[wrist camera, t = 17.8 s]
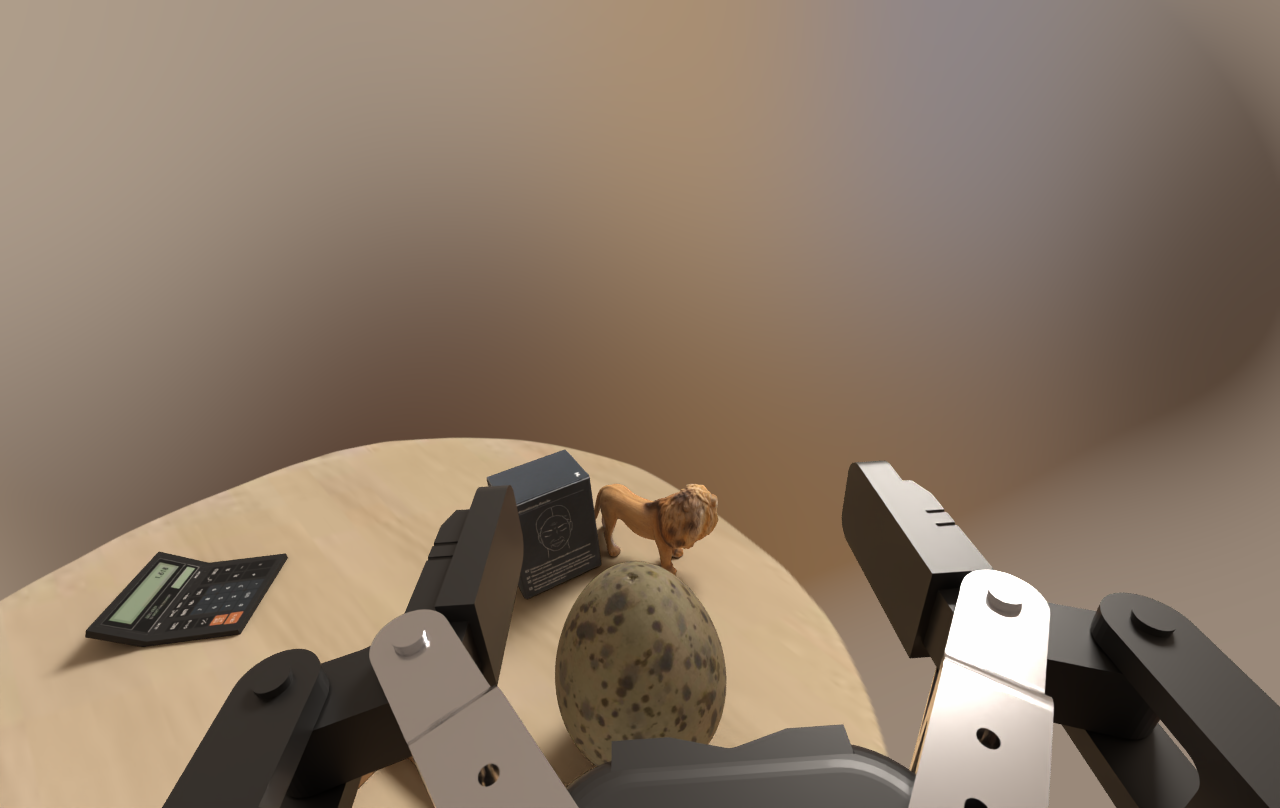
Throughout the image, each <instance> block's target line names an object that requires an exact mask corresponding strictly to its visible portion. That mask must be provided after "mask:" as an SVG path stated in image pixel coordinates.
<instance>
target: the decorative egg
mask: <svg viewBox="0 0 1280 808" xmlns="http://www.w3.org/2000/svg"><path fill="white" fill-rule="evenodd" d="M555 685H556V695H557V700H558V705H559V709H560V713H561V716H562V719H563V721H564V724H565V726H566V728H567V731H568V733H569V734H570V736H571V738H572V739H573V741H574V743H575V744H576V746H577V747H578V748H579V749H580V751H581V752H582V753H583V754H584V755H585V756H586V758H587V759H589V760H590V761H591V762H592V763H593V764H594V765H596V766H599V765H601V764H604V763H606V762H609V761H611V751H612V741H621V740H635V739H649V738H663V737H671V738H676V739H681V740H686V741H692V742H697V743H702V744H707V745H708V744H709V742H710V741H711V739H712V737H713V736H714V734H715V732H716V729H717V727H718V725H719V722H720V719H721V716H722V712H723V708H724V703H725V696H726V667H725V660H724V654H723V650H722V646H721V643H720V640H719V637H718V634H717V632H716V629H715V627H714V625H713V623H712V621H711V618H710V617H709V615H708V613H707V611H706V610H705V608H704V606H703V605H702V604H701V602H700V601H699V599H698V598H697V597H696V596H695V594H694V593H693V592H692V591H691V590H690V588H689V587H688V586H686V585H685V584H684V583H683V582H682V581H681V580H680V579H679V578H677V577H676V576H675V575H673V574H672V573H671V572H669V571H667V570H665V569H664V568H662V567H660V566H657V565H654V564H651V563H646V562H641V561H630V562H624V563H620V564H617V565H614V566H612V567H610V568H608V569H606V570H605V571H603V572H602V573H601V574H599V575H598V576H597V577H596V578H594V579H593V580H592V581H591V582H590V583H589V584H588V585H587V586H586V588H585V589H584V590H583V591H582V593H581V594H580V595H579V597H578V598H577V600H576V602H575V603H574V605H573V607H572V609H571V611H570V613H569V615H568V617H567V619H566V622H565V624H564V627H563V630H562V633H561V637H560V640H559V645H558V650H557V656H556V665H555Z"/></svg>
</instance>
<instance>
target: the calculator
mask: <svg viewBox="0 0 1280 808" xmlns="http://www.w3.org/2000/svg"><path fill="white" fill-rule="evenodd" d="M287 558H288V557H287V555H286V554H278V555H270V556H262V557H254V558H245V559H237V560H229V561H220V562H212V563H207V562H203V561H198V560H194V559H189V558H185V557H181V556H176V555H172V554H167V553H163V552H158V553H157V554H156V555H155V556H154V557H153V558H152V559H151V561H150V562H149V563H148V564H147V565H146V566H145V567H144V568H143V569H142V570H141V571H140V572H139V574H138V575H137V576H136V577H135V578H134V579H133V580H132V581H131V582H130V583H129V584H128V585H127V587H126V588H125V589H124V590H123V591H122V592H121V593H120V594H119V595H118V596H117V597H116V598H115V600H114V601H113V602H112V603H111V604H110V605H109V606H108V607H107V608H106V609H105V610H104V611H103V613H102V614H101V615H100V616H99V617H98V618H97V619H96V620H95V621H94V622H93V623H92V624H91V626H90V627H89V628H88V629H87V630H86V635H85V637H86V638H92V639H98V640H104V641H110V642H116V643H122V644H128V645H135V646H141V647H146V646H154V645H162V644H169V643H177V642H185V641H192V640H200V639H208V638H215V637H223V636H231V635H238V634H241V632H242V631H243V629H244V628H245V626H246V624H247V623H248V621H249V620H250V618H251V616H252V615H253V613H254V612H255V610H256V608H257V607H258V605H259V603H260V602H261V600H262V599H263V597H264V595H265V594H266V592H267V591H268V589H269V587H270V586H271V584H272V583H273V581H274V579H275V578H276V576H277V575H278V573H279V571H280V570H281V568H282V566H283V565H284V563H285V562H286V560H287Z"/></svg>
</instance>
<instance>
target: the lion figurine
mask: <svg viewBox="0 0 1280 808" xmlns="http://www.w3.org/2000/svg"><path fill="white" fill-rule="evenodd" d="M717 506H718V501H717V497H716V496H715V495H713V494H711V493H710V492H709V491H707V488H705V486H704V485H697V484H690V485H687V486H686V488H685V489H682V490H681V491H680V492H678V493H675V494H672V495H670V496H668V497H665V498H661V499H658V500H655V501H654V502H653V501H650V500H647V499H644V498H641V497H639V496H637V495H635V494H633V493H632V492H631V491H630V490H629V489H628V488H627V487H625V486H623V485H621V484H612V485H606V486H604V487H602V488H601V489H600V491H599V493H598V495H597V499H596V504H595V509H594V513H595V520H596V518H597V516H598V513H599V510H600V508H601V513H602V524H603V526H604V528H605V531H604V537H605V540H606V543H607V549H608V553H609V554H610V555H611V556H617V555H618V554H619V553H620V551H621V550H620V547H618V546H617V545H615V543H614V541H613V538H612V533H613V530H614V528H615V525H616V521H617V519H621V520H622V521H623V522H624V523H625V524H626V525H627V526H628V527H629V528H630V529H631V530H632V531H633V532H634V533H636V534H637V535H639V536H641V537H644V538H647V539H651V540H655V542H656V544H657V547H658V550H659V554H660V559H661V567H662V568H664V569H665V570H667V571H669V572H671V573H672V574H673V575H675V574H676V572H677V570H676V569H675V568H674V567H673V564H672V562H671V557H672V556H673V557H681V556H682V555H683V549H682V548H684V549H685V548H686V549H689V548H690V547H693V545H694V543H695V542H696V541H698V540H700V539H703V538H704V537H705V536H706V535H709V534H710V533H711V532H712V531H713V529H714V528H715V526H716V524H717V522H718V516H717V509H716V508H717Z"/></svg>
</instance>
